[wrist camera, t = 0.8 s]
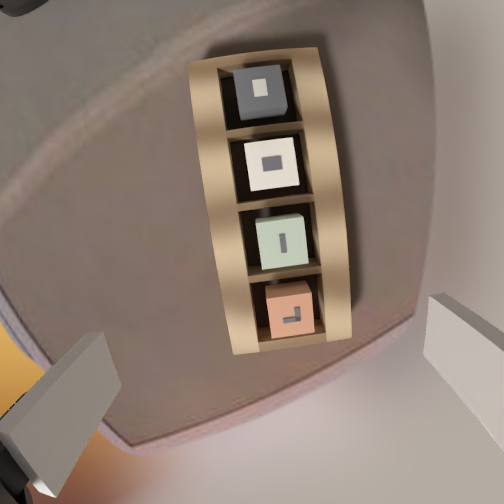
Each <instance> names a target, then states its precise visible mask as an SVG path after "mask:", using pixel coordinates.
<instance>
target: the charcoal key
mask: <svg viewBox="0 0 504 504" xmlns="http://www.w3.org/2000/svg"><path fill="white" fill-rule="evenodd" d="M233 74H234V81H235V87H236V94H237V100H238V107H239V113H240V118H241V121H245V120H252V119H260V118H268V117H276V116H284V114H285V112H286V109H287V107H288V106H287V101H286V95H285V89H284V84H283V78H282V73H281V68H280V65H271V66H261V67H253V68H245V69H238V70H233Z"/></svg>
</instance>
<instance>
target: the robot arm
mask: <svg viewBox="0 0 504 504" xmlns="http://www.w3.org/2000/svg"><path fill="white" fill-rule="evenodd" d="M46 1H48V0H0V11H1V12H3V13H5V14H7V15H9V16H12V17H17V16H21V15H24V14H27V13H29V12H31V11H33V10H34V9H36V8H38V7H39V6H41V5H42V4H44V3H45V2H46ZM423 355H424V356H425V357H426V359H427V360H428V361H429V362H430V363H431V364H432V365H433V367H434V368H435V369H436V370H437V371H438V372H439V373H440V375H441V376H442V377H443V378H444V379H445V380H446V382H447V383H448V384H449V385H450V386H451V387H452V389H453V390H454V391H455V392H456V393H457V394H458V396H459V397H460V398H461V399H462V401H463V402H464V403H465V404H466V405H467V407H468V408H469V409H470V410H471V411H472V413H473V414H474V415H475V416H476V418H477V419H478V420H479V421H480V422H481V424H482V425H483V426H484V427H485V429H486V430H487V431H488V433H489V434H490V435H491V436H492V438H493V439H494V440H495V441H496V443H497V444H498V445H499V447H500V448H501V449H502V451H503V452H504V333H503V332H502V331H500V330H499V329H498V328H496V327H495V326H493V325H492V324H490V323H489V322H488V321H486V320H485V319H483V318H482V317H480V316H479V315H477V314H476V313H474V312H473V311H471V310H470V309H468V308H467V307H465V306H464V305H462V304H461V303H459V302H458V301H456V300H455V299H453V298H452V297H450V296H449V295H447V294H446V293H440V294H435V295H430V296H429V306H428V317H427V327H426V336H425V344H424V351H423ZM121 387H122V386H121V383H120V381H119V378H118V375H117V372H116V370H115V367H114V364H113V361H112V358H111V355H110V352H109V349H108V346H107V343H106V340H105V336H104V333H103V332H87V333H86V334H85V335H84V336H83V337H82V338H81V339H80V340H79V341H78V342H77V343H76V344H75V345H74V346H73V347H72V348H71V349H70V350H69V351H68V352H67V353H66V354H65V355H64V356H62V357H61V358H60V359H59V360H58V361H57V362H56V363H55V364H54V365H53V366H52V367H51V368H50V369H49V370H48V371H47V372H46V373H45V374H44V375H43V376H42V377H41V378H40V380H39V381H37V382H36V383H35V384H34V386H33V387H32V388H31V389H30V390H29V391H27V392H26V393H24V394H23V395H22V396H21V397H20V398H19V399H18V400H17V401H16V404H13V405H12V406H11V407H10V408H9V409H10V410H8V411H7V412H6V413H5V414H4V415H3V416H2V417H1V418H0V504H33V501H32V497H31V493H30V491H29V489H28V488H27V487H26V484H27V483H28V481H29V480H30V481H31V482H32V484H33V485H34V486H35V487H36V489H37V490H38V491H39V492H42V493H44V494H47V495H49V496H52V497H55V498H56V497H57V496H58V494H59V492H60V490H61V489H62V487H63V485H64V483H65V481H66V480H67V478H68V476H69V474H70V473H71V471H72V469H73V467H74V466H75V464H76V462H77V460H78V459H79V457H80V455H81V453H82V452H83V450H84V448H85V447H86V445H87V443H88V442H89V440H90V438H91V436H92V435H93V433H94V431H95V430H96V428H97V426H98V425H99V423H100V421H101V420H102V418H103V417H104V415H105V413H106V412H107V410H108V408H109V407H110V405H111V403H112V402H113V400H114V398H115V397H116V395H117V394H118V392H119V390H120V389H121Z"/></svg>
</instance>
